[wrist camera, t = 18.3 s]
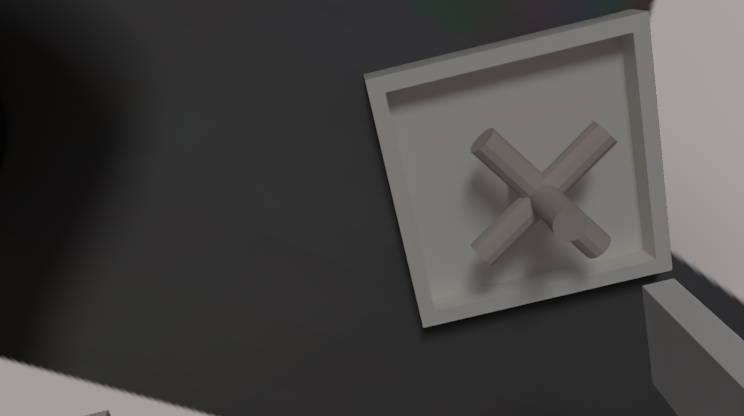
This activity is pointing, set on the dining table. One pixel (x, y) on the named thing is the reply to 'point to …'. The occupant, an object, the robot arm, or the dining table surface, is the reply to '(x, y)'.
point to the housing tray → (538, 145)
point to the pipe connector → (542, 193)
